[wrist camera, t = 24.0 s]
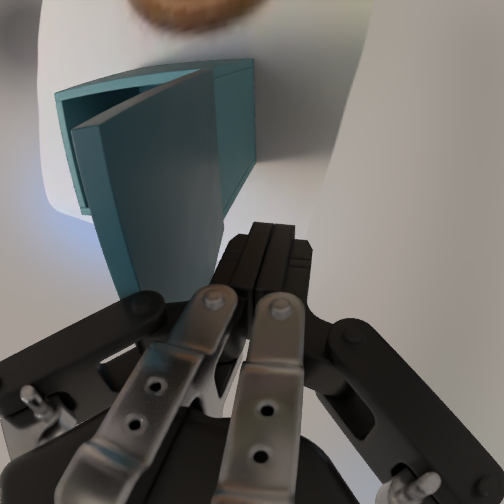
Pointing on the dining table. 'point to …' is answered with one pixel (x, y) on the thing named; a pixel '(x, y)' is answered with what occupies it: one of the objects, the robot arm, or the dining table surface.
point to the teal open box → (141, 80)
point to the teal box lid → (156, 187)
